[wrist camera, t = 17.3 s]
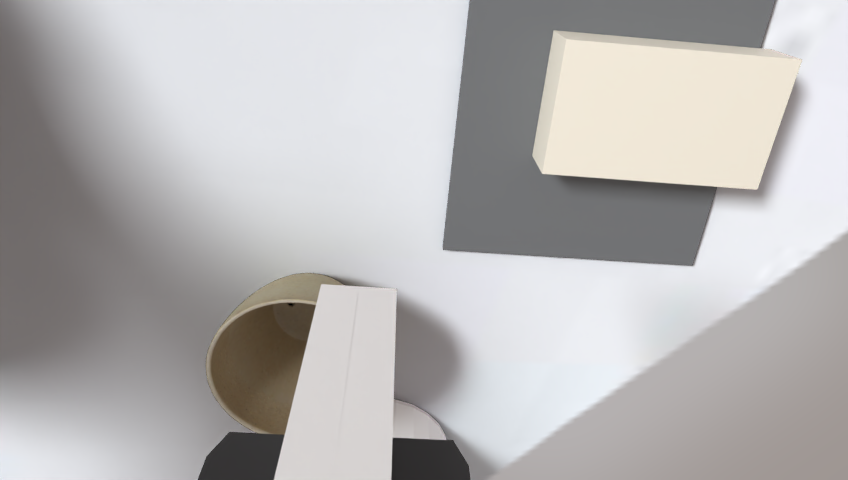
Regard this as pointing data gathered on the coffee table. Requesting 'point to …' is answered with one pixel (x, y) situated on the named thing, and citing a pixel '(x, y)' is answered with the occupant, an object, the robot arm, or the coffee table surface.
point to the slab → (661, 110)
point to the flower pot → (264, 352)
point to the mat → (517, 124)
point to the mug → (414, 423)
